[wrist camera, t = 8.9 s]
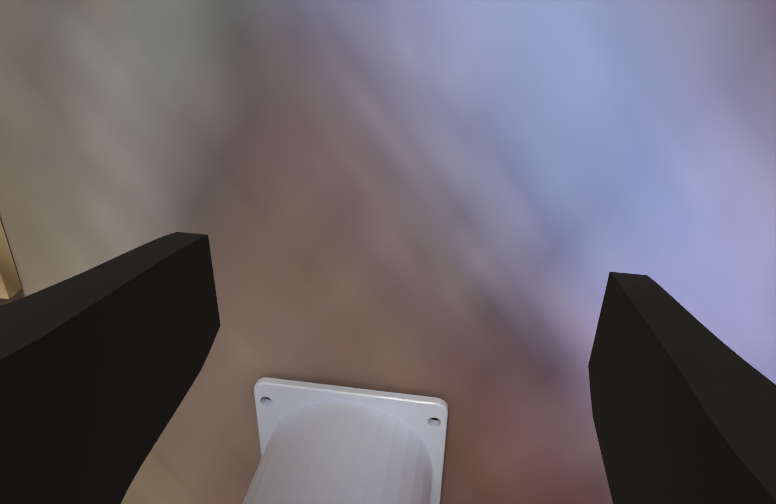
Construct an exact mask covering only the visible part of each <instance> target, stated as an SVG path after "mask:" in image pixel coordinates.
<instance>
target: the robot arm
mask: <svg viewBox="0 0 776 504" xmlns="http://www.w3.org/2000/svg"><path fill="white" fill-rule="evenodd" d="M219 327H220V319H219V312H218V305H217V297H216V290H215V283H214V275H213V268H212V261H211V254H210V246H209V239H208V235H204V234H193V233H182V232H175V233H172V234H169V235H166V236H163V237H161V238H158V239H156V240H154V241H151V242H149V243H147V244H144V245H142V246H140V247H138V248H135V249H133V250H131V251H129V252H127V253H124V254H122V255H120V256H118V257H116V258H114V259H111V260H109V261H107V262H105V263H103V264H100V265H98V266H96V267H94V268H92V269H90V270H87V271H85V272H83V273H81V274H79V275H76V276H74V277H72V278H69V279H67V280H64V281H62V282H60V283H57V284H55V285H53V286H50V287H48V288H45V289H43V290H41V291H38V292H36V293H34V294H31V295H29V296H26V297H24V298H22V299H19V300H16V301H14V302H11V303H8V304H6V305H3V306H0V504H121V502H122V500H123V498H124V496H125V494H126V491H127V490H128V488H129V486H130V484H131V482H132V481H133V479H134V477H135V475H136V474H137V472H138V470H139V468H140V467H141V465H142V463H143V462H144V460H145V459H146V457H147V455H148V454H149V452H150V451H151V449H152V448H153V446H154V444H155V443H156V441H157V440H158V438H159V437H160V435H161V433H162V432H163V430H164V429H165V427H166V425H167V424H168V422H169V421H170V419H171V418H172V416H173V414H174V413H175V411H176V410H177V408H178V406H179V405H180V403H181V402H182V400H183V398H184V397H185V395H186V394H187V392H188V390H189V389H190V387H191V385H192V384H193V382H194V381H195V379H196V377H197V376H198V374H199V372H200V371H201V369H202V367H203V364H204V362H205V360H206V358H207V356H208V354H209V351H210V349H211V347H212V344H213V342H214V339H215V337H216V335H217V332H218V330H219ZM588 367H589V379H590V392H591V402H592V412H593V419H594V423H595V428H596V432H597V436H598V441H599V445H600V450H601V454H602V458H603V462H604V467H605V471H606V475H607V479H608V483H609V488H610V492H611V496H612V500H613V504H776V385H775V384H774V383H773V382H771V381H770V380H769V379H768V378H766V377H765V376H764V375H762V374H761V373H760V372H759V371H757V370H756V369H755V368H753V367H752V366H751V365H750V364H748V363H747V362H746V361H744V360H743V359H742V358H741V357H740V356H738V355H737V354H736V353H735V352H734V351H732V350H731V349H730V348H729V347H728V346H726V345H725V344H724V343H723V342H722V341H721V340H719V339H718V338H717V337H716V336H715V335H714V334H713V333H711V332H710V331H709V330H708V329H707V328H706V327H705V326H703V325H702V324H701V323H700V322H699V321H698V320H697V319H696V318H695V317H693V316H692V315H691V314H690V313H689V312H688V311H687V310H686V309H685V308H684V307H683V306H681V305H680V304H679V303H678V302H677V301H676V300H675V299H674V298H673V297H672V296H670V295H669V294H668V293H667V292H666V291H665V290H664V289H663V288H662V287H661V286H659V285H658V284H657V283H656V282H655V281H654V280H652V279H651V278H650V277H648V276H647V275H638V274H627V273H616V272H610V273H609V277H608V282H607V286H606V291H605V295H604V299H603V304H602V308H601V313H600V317H599V321H598V326H597V330H596V335H595V339H594V343H593V348H592V352H591V357H590V361H589V365H588ZM254 395H255V404H256V413H257V422H258V431H259V439H260V448H261V457H262V458H261V460H260V463H259V465H258V468H257V470H256V472H255V475H254V477H253V479H252V482H251V484H250V487H249V489H248V491H247V494H246V496H245V498H244V501H243V503H242V504H440V495H441V484H442V472H443V461H444V450H445V439H446V428H447V417H448V405H447V403H446V402H445V401H444V400H442V399H439V398H435V397H426V396H418V395H410V394H401V393H393V392H385V391H376V390H368V389H359V388H351V387H343V386H334V385H326V384H317V383H309V382H301V381H292V380H284V379H276V378H261V379H259V380H258V381H257V383H256V385H255V387H254ZM265 397H268V398H270V399H271V400H269V399H266V398H265ZM431 418H438V419H439V420H432V419H431Z"/></svg>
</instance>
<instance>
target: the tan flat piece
mask: <svg viewBox="0 0 776 504" xmlns="http://www.w3.org/2000/svg"><path fill="white" fill-rule="evenodd" d="M21 289H22V287H21V283H20V280H19V277H18V274H17V271H16V268H15V264H14V261H13V258H12V255H11V252H10V249H9V246H8V242H7V239H6V236H5V233H4V230H3V227H2V224H1V220H0V298H3V299H10V298H11V297H12V296H14V295H15V294H16V293H17V292H18V291H20V290H21Z"/></svg>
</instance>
